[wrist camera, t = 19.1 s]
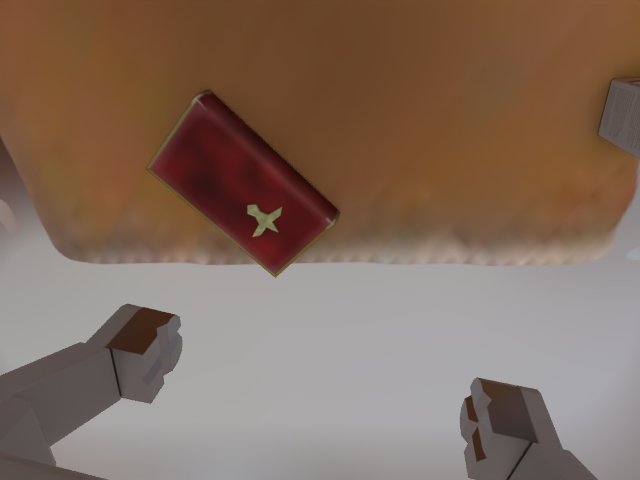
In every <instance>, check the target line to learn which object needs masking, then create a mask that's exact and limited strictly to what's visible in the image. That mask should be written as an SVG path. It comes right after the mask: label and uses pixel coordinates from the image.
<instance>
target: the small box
mask: <svg viewBox="0 0 640 480" xmlns="http://www.w3.org/2000/svg"><path fill="white" fill-rule="evenodd" d="M598 135H599V136H601V137H602V138H604V139H606V140H608V141H609V142H611V143H613V144H614V145H616V146H618V147H619V148H621V149H623V150H624V151H626V152H628V153H629V154H631V155H633V156H635V157H636V158H638V159H640V77H638V78H620V79H613V80H612V82H611V86H610V89H609V93H608V97H607V101H606V105H605V108H604V112H603V116H602V120H601V124H600V128H599V132H598Z"/></svg>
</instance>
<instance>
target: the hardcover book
mask: <svg viewBox="0 0 640 480" xmlns="http://www.w3.org/2000/svg"><path fill="white" fill-rule="evenodd" d="M146 170H147V171H148V172H150V173H151V174H152V175H153V176H154V177H156V178H157V179H158V180H159V181H160V182H162V183H163V184H164V185H165V186H166V187H168V188H169V189H170V190H171V191H172V192H174V193H175V194H176V195H177V196H178V197H180V198H181V199H182V200H183V201H184V202H185V203H187V204H188V205H189V206H190V207H191V208H193V209H194V210H195V211H196V212H197V213H199V214H200V215H201V216H202V217H203V218H205V219H206V220H207V221H208V222H209V223H211V224H212V225H213V226H214V227H215V228H217V229H218V230H219V231H220V232H221V233H222V234H224V235H225V236H226V237H227V238H228V239H230V240H231V241H232V242H233V243H234V244H236V245H237V246H238V247H239V248H240V249H242V250H243V251H244V252H245V253H246V254H248V255H249V256H250V257H251V258H252V259H254V260H255V261H256V262H257V263H258V264H259V265H261V266H262V267H263V268H264V269H266V270H267V271H268V272H269V273H270V274H271V275H273V276H274V277H277V276H278V275H279V274H280V273H281V272H282V271H283V270H284V269H286V268H287V267H288V266H289V265H290V264H291V263H292V262H293V261H295V260H296V259H297V258H298V257H299V256H300V255H301V254H302V253H304V252H305V251H306V250H307V249H308V248H309V247H310V246H312V245H313V244H314V243H315V242H316V241H317V240H318V239H319V238H321V237H322V236H323V235H324V234H325V233H326V232H327V231H328V230H330V229H331V228H332V227H333V226H334V225H335V224H336V222H337V220H338V217H339V214H340V212H339V211H338V210H337V209H336V208H335V207H334V206H333V205H332V204H331V203H330V202H329V201H327V200H326V199H325V198H324V197H323V196H322V195H321V194H320V193H319V192H318V191H317V190H316V189H315V188H313V187H312V186H311V185H310V184H309V183H308V182H307V181H306V180H305V179H304V178H303V177H302V176H301V175H300V174H298V173H297V172H296V171H295V170H294V169H293V168H292V167H291V166H290V165H289V164H288V163H287V162H286V161H285V160H283V159H282V158H281V157H280V156H279V155H278V154H277V153H276V152H275V151H274V150H273V149H272V148H271V147H270V146H268V145H267V144H266V143H265V142H264V141H263V140H262V139H261V138H260V137H259V136H258V135H257V134H256V133H255V132H253V131H252V130H251V129H250V128H249V127H248V126H247V125H246V124H245V123H244V122H243V121H242V120H241V119H240V118H238V117H237V116H236V115H235V114H234V113H233V112H232V111H231V110H230V109H229V108H228V107H227V106H226V105H225V104H223V103H222V102H221V101H220V100H219V99H218V98H217V97H216V96H215V95H214V94H213V93H212V92H211V91H210V90H207V91H203V92H201V93H199V94H198V95H196V96H195V97H194V99H193V100H192V101H191V103H190V104H189V106H188V107H187V109H186V110H185V112H184V113H183V115H182V116H181V118H180V119H179V120H178V122H177V123H176V125H175V126H174V128H173V129H172V131H171V132H170V134H169V135H168V136H167V138H166V139H165V141H164V142H163V144H162V145H161V147H160V148H159V150H158V151H157V153H156V154H155V155H154V157H153V158H152V160H151V161H150V163H149V164H148V166H147V167H146Z"/></svg>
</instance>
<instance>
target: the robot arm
mask: <svg viewBox="0 0 640 480" xmlns="http://www.w3.org/2000/svg"><path fill="white" fill-rule="evenodd" d="M180 326H181V323H180V317H179V316H177V315H175V314H171V313H166V312H161V311H158V310H154V309H149V308H145V307H139V306H135V305H131V304H125V305H123V306H121V307H120V308H119V310H117V311H116V312H115V313H114V314H113V315H112V316H111V317H110V319H108V320H107V322H106V323H105V324H104V325H103V326H102V327H101V328H100V329H99V330H98V331H97V332H96V333H95V334H94V335H93V336H92V337H91V338H90V339H89V340H88V341H87V342H86V343H81V342H80V343H77V344H75V345H72V346H70V347H68V348H65V349H63V350H60V351H58V352H56V353H53V354H51V355H48V356H46V357H44V358H41V359H39V360H37V361H34V362H32V363H30V364H27V365H25V366H22V367H20V368H18V369H15V370H13V371H10V372H8V373H5V374H3V375H1V376H0V480H107V479H103V478H99V477H95V476H92V475H88V474H83V473H79V472H76V471H72V470H68V469H64V468H60V467H56V461H55V459H54V456H53V454H52V451H51V449H50V446H51V445H53V444H54V443H56V442H57V441H59V440H60V439H62V438H64V437H65V436H67V435H68V434H69V433H71V432H72V431H74V430H75V429H77V428H78V427H80V426H81V425H83V424H84V423H86V422H87V421H89V420H90V419H92V418H93V417H95V416H96V415H98V414H99V413H101V412H102V411H104V410H105V409H107V408H108V407H110V406H111V405H113V404H114V403H116V402H117V401H119V400H120V399H121V398H126V399H130V400H135V401H140V402H145V403H150V404H151V403H152V401H153V400H154V398H155V397H156V395H157V394H158V392H159V390H160V389H161V388H162V386H163V384H164V378H163V376H164V375H165V374H167V373H169V372H171V371H172V370H173V369H174V367H175V366H176V364H177V362H178V360H179V357H180V354H181V351H182V337H181V336H180V335H179V333H178V332H177V330H178V329H179V328H180ZM470 389H471V394H472V395H471V396H469V397H467V398H465V400H464V402H463V405H462V408H461V414H460V429H461V435H462V437H463V438H464V439H465V440H466V442H467V443H468V445H467V447H466V449H465V451H464V455H465V461H466V466H467V472H468V477H469V478H471V479H475V480H598V479H597V478H596V477H595V476H594V475H593V474H592V473H591V472H590V471H589V470H588V469H587V468H586V467H585V466H584V465H583V464H582V463H581V462H580V461H579V460H578V459H577V458H576V457H575V456H574V455H573V454H572V453H571V452H570V451H568V450H564V449H563V448H562V446H561V443H560V441H559V438H558V436H557V433H556V430H555V428H554V425H553V423H552V421H551V418H550V415H549V413H548V410H547V408H546V406H545V403H544V401H543V398H542V396H541V393H540V392H539V391H538V390H537V389H532V388H527V387H522V386H515V385H511V384H507V383H501V382H497V381H492V380H486V379H482V378H476V379H475V380H473V382H472V384H471V387H470ZM120 397H121V398H120Z"/></svg>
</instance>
